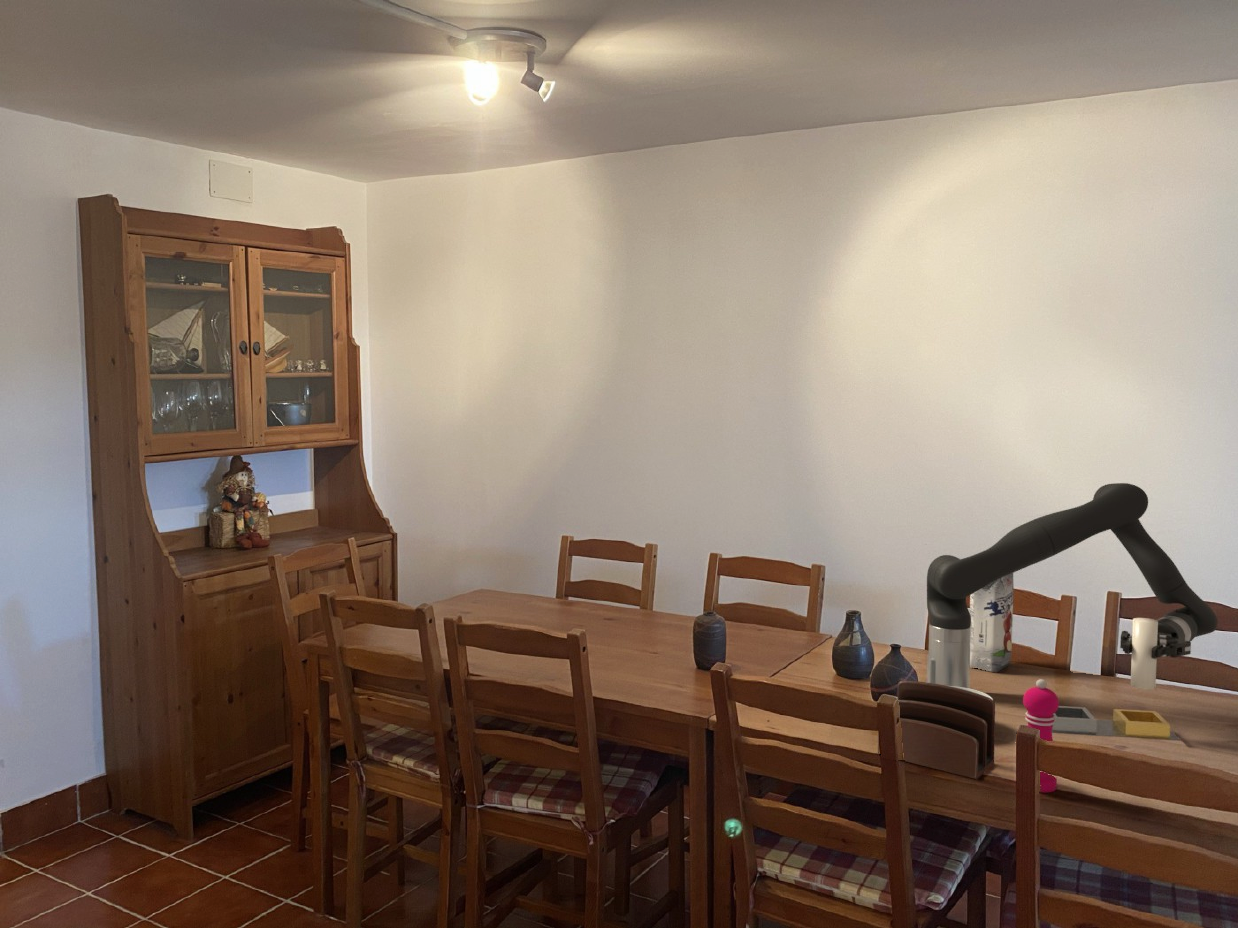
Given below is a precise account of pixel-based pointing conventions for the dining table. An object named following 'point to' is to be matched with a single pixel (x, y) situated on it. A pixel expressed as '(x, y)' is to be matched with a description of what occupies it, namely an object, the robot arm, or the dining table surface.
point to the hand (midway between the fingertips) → (1140, 651)
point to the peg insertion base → (1112, 724)
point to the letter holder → (946, 728)
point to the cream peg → (1143, 653)
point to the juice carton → (992, 625)
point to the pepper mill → (1042, 721)
